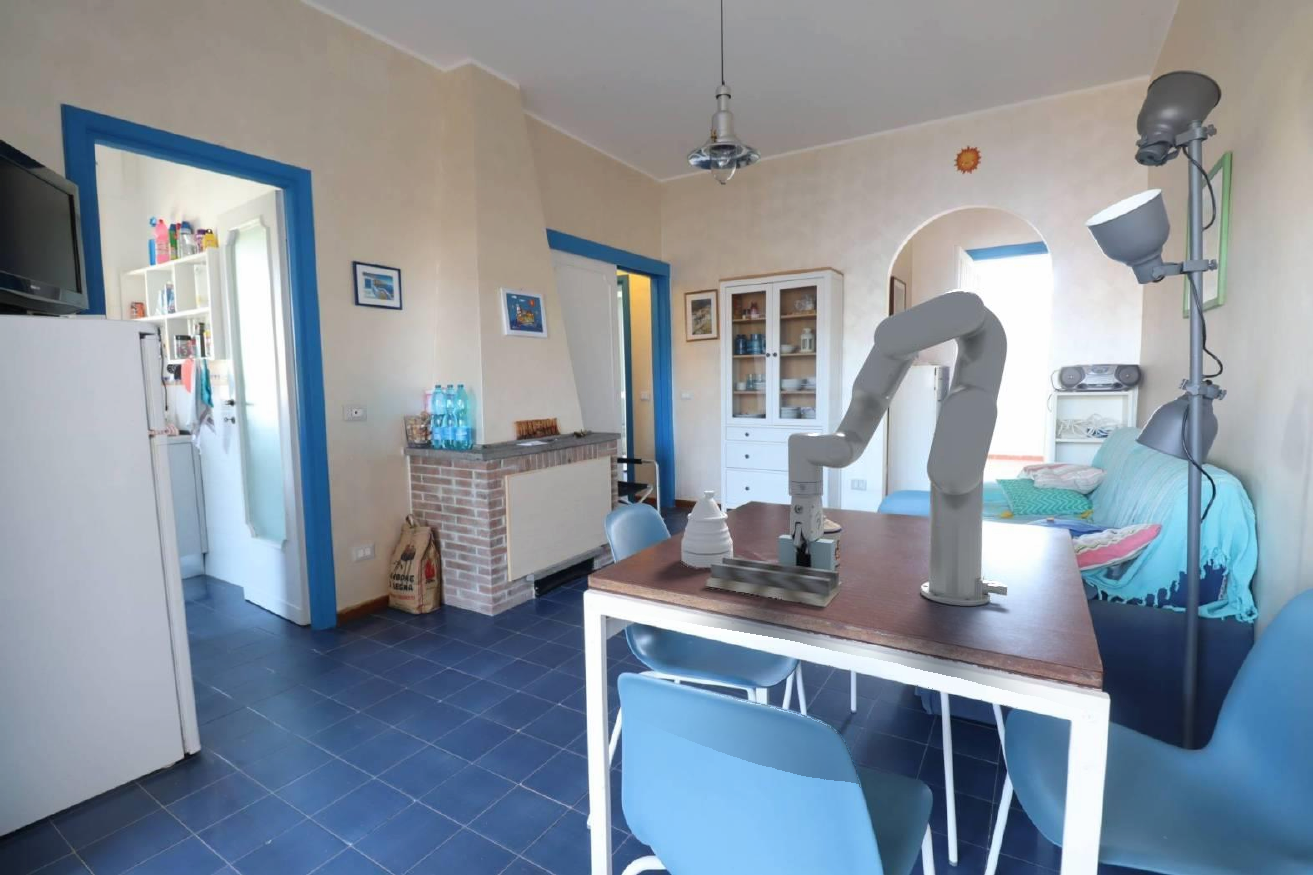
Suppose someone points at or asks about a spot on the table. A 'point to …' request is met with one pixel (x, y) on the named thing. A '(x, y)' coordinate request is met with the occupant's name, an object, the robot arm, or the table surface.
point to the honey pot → (706, 534)
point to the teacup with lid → (833, 537)
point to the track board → (776, 580)
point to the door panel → (818, 549)
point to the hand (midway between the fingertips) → (806, 568)
